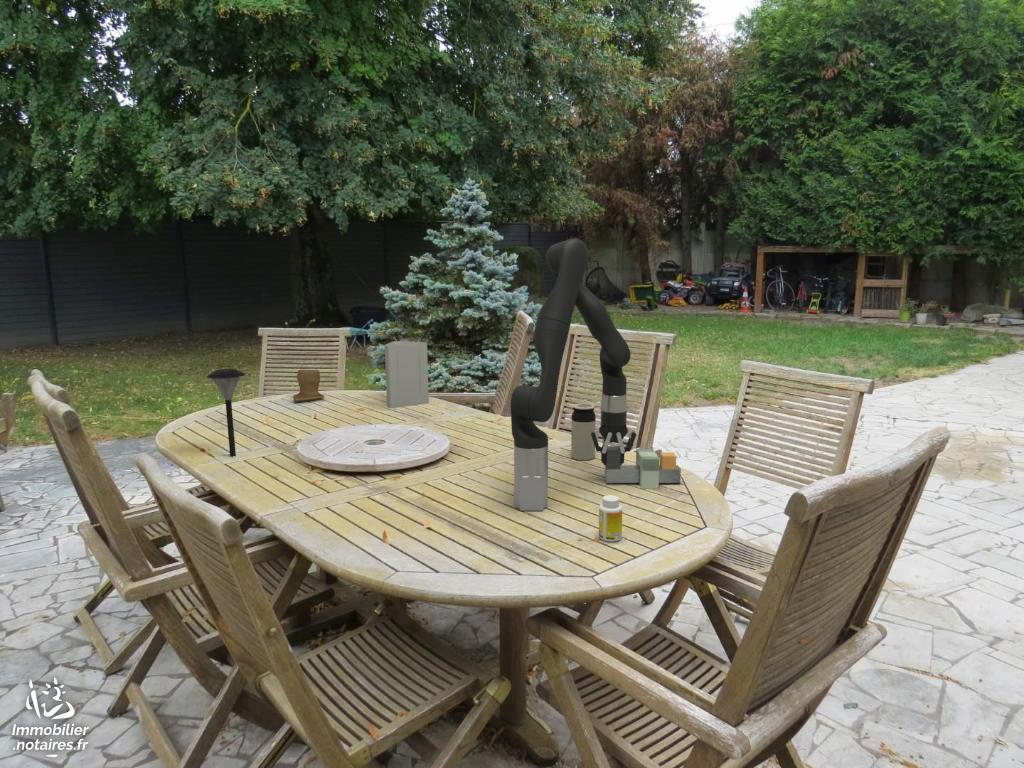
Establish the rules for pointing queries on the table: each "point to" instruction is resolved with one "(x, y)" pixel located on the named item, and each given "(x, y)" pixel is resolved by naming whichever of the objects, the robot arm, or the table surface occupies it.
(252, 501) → the table surface
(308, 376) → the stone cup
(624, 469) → the grey l-shaped bracket
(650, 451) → the bearing bridge
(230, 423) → the solar garden light
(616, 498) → the supplement bottle
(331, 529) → the table surface
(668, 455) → the block
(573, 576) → the table surface
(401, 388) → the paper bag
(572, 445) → the travel mug
